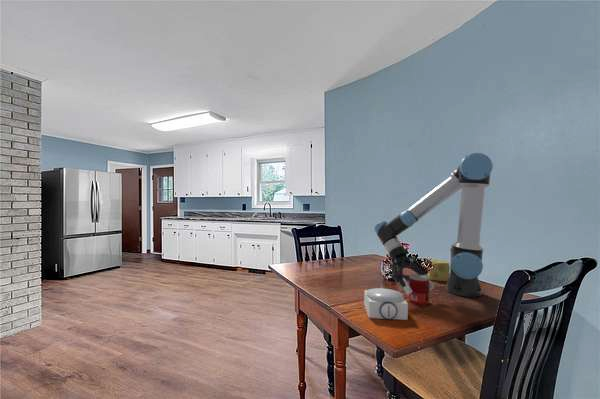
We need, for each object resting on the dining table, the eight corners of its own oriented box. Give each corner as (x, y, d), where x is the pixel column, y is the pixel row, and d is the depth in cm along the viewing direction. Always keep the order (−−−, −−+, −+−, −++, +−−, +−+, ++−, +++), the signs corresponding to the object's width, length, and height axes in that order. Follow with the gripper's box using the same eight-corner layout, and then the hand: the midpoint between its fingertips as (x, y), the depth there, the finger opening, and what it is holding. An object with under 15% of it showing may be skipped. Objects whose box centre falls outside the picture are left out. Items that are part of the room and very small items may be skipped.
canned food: (430, 306, 123) (431, 279, 122) (410, 304, 124) (410, 278, 124) (426, 299, 130) (427, 275, 130) (407, 298, 132) (408, 273, 132)
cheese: (429, 280, 161) (429, 262, 161) (424, 275, 172) (424, 258, 172) (449, 281, 160) (449, 263, 160) (443, 276, 170) (443, 259, 170)
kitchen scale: (398, 305, 122) (398, 289, 122) (408, 321, 107) (408, 301, 107) (364, 304, 123) (364, 287, 123) (369, 319, 108) (369, 300, 108)
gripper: (410, 252, 147) (435, 291, 134) (371, 256, 136) (395, 299, 122) (418, 243, 142) (446, 283, 129) (379, 247, 131) (405, 290, 118)
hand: (421, 291), depth 126 cm, fingers open, 13 cm apart
